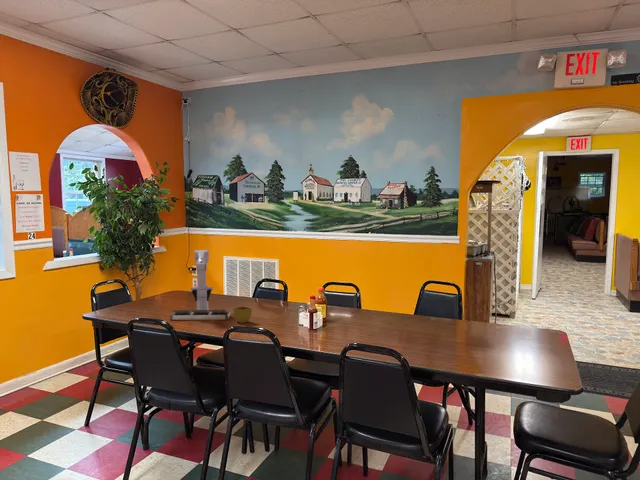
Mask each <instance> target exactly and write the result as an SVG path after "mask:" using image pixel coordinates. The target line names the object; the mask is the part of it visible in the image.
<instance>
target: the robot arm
mask: <svg viewBox="0 0 640 480" xmlns="http://www.w3.org/2000/svg"><path fill="white" fill-rule="evenodd" d="M209 253H210V252H209V250H208V249H203V250H202V249H201V250H200V249H199V250H198V249H195V250H194V262H195V263H196V265H195V268H196V270H195V271H196V277H197V278H196V281H197V282H196V283H197V284H196V285H197V286H191V287H190V291H191V293H192V294H193V295H192V296H193V297H194V300H195V301H194V302H196V310H209V311H210V310H211V309H210V308H209V299H210V296H211V293H212V291H213V290H214V287H213V286H208V285H207V269H208V268H207V263H209V257H210V256H209V255H210V254H209Z"/></svg>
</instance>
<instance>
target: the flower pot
mask: <svg viewBox="0 0 640 480" xmlns="http://www.w3.org/2000/svg"><path fill="white" fill-rule="evenodd" d="M232 310H233V316H234V317H233V318H234V320H236V322H237V323H241V324H244V323H248V322H249V321H250V319H251V317H252V311H253V308H252V307H249V306H245V305H243V306H237V307H233V308H232Z"/></svg>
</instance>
